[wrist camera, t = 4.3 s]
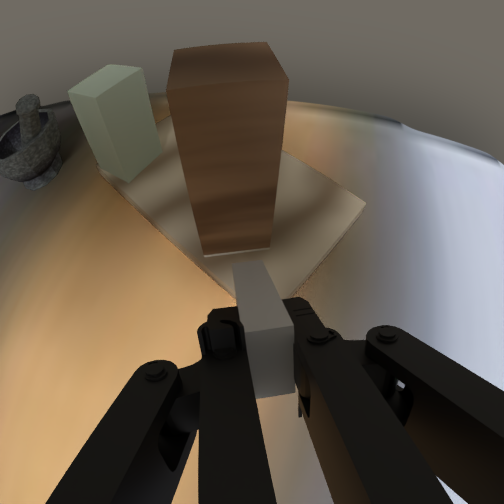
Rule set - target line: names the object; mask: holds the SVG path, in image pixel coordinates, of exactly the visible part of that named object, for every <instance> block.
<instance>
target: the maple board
mask: <svg viewBox="0 0 504 504" xmlns="http://www.w3.org/2000/svg"><path fill="white" fill-rule="evenodd" d="M156 128H157V132H158V136H159V140H160V144H161V147H162V151H163V152H162V153H161V154H160V155H159V156H158V157H156V158H155V159H154V160H153V161H152V162H151V163H150V164H149V165H148V166H147V167H146V168H144V169H143V170H142V171H141V172H140V173H139V174H138V175H137V176H136V177H135V178H134V179H133V180H132V181H131V182H130V183H127V182H126V181H124V180H122V179H120V178H118V177H116V176H114V175H113V174H111V173H109V172H107V171H105V170H103V169H101V168H100V166H99V164H98V163H97V164H96V166H97V168H98V170H99V172H100V174H101V175H102V176H103V177H104V178H105V179H106V180H107V181H108V182H109V183H110V184H111V185H112V186H113V187H114V188H115V189H116V190H117V191H118V192H119V193H120V194H121V195H122V196H123V197H124V198H125V199H126V200H127V201H128V202H129V203H130V204H131V205H132V206H133V207H135V208H136V209H137V210H138V211H139V212H140V213H141V214H142V215H143V216H144V217H145V218H146V219H147V220H148V221H149V222H150V223H151V224H152V225H154V226H155V227H156V228H157V229H158V230H159V231H160V232H161V233H162V234H163V235H164V236H165V237H166V238H168V239H169V240H170V241H171V242H172V243H173V244H174V245H175V246H176V247H177V248H178V249H180V250H181V251H182V252H183V253H184V254H185V255H186V256H187V257H188V258H189V259H191V260H192V261H193V262H194V263H195V264H196V265H197V266H198V267H200V268H201V269H202V270H203V271H204V272H205V273H206V274H207V275H209V276H210V277H211V278H212V279H213V280H214V281H215V282H216V283H218V284H219V285H220V286H221V287H222V288H223V289H225V290H226V291H227V292H228V293H229V294H230V295H231V296H233V297H234V298H235V299H236V295H235V287H234V279H233V270H232V263H239V262H248V261H256V260H262V261H263V263H264V265H265V267H266V269H267V271H268V273H269V275H270V277H271V279H272V281H273V283H274V285H275V287H276V289H277V291H278V294H279V296H280V298H281V299H288V298H291V297H292V296H293V295H294V294H295V293H296V291H297V290H298V289H299V288H300V287H301V286H302V285H303V283H304V282H305V281H306V280H307V279H308V278H309V276H310V275H311V274H312V273H313V272H314V271H315V269H316V268H317V267H318V266H319V265H320V263H321V262H322V261H323V260H324V259H325V257H326V256H327V255H328V254H329V253H330V251H331V250H332V249H333V248H334V247H335V245H336V244H337V243H338V242H339V241H340V239H341V238H342V237H343V236H344V234H345V233H346V232H347V231H348V229H349V228H350V227H351V226H352V224H353V223H354V222H355V221H356V219H357V218H358V217H359V216H360V214H361V213H362V211H363V209H364V207H365V205H366V202H364V201H363V200H361V199H360V198H358V197H357V196H355V195H354V194H352V193H351V192H349V191H348V190H346V189H345V188H343V187H342V186H340V185H339V184H337V183H336V182H334V181H332V180H331V179H329V178H328V177H326V176H325V175H323V174H321V173H320V172H318V171H317V170H315V169H313V168H312V167H310V166H308V165H307V164H305V163H303V162H302V161H300V160H298V159H297V158H295V157H293V156H292V155H290V154H288V153H287V152H285V151H283V150H282V151H281V159H280V168H279V177H278V185H277V194H276V202H275V210H274V218H273V226H272V234H271V242H270V249H269V250H261V251H253V252H244V253H236V254H228V255H220V256H211V257H204V254H203V250H202V246H201V243H200V239H199V235H198V231H197V227H196V223H195V219H194V215H193V211H192V207H191V203H190V199H189V195H188V190H187V186H186V182H185V178H184V173H183V169H182V164H181V160H180V155H179V151H178V146H177V142H176V137H175V132H174V127H173V123H172V118H171V115H170V116H168V117H166V118H165V119H163V120H161V121H160V122H158V123H156Z"/></svg>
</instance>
